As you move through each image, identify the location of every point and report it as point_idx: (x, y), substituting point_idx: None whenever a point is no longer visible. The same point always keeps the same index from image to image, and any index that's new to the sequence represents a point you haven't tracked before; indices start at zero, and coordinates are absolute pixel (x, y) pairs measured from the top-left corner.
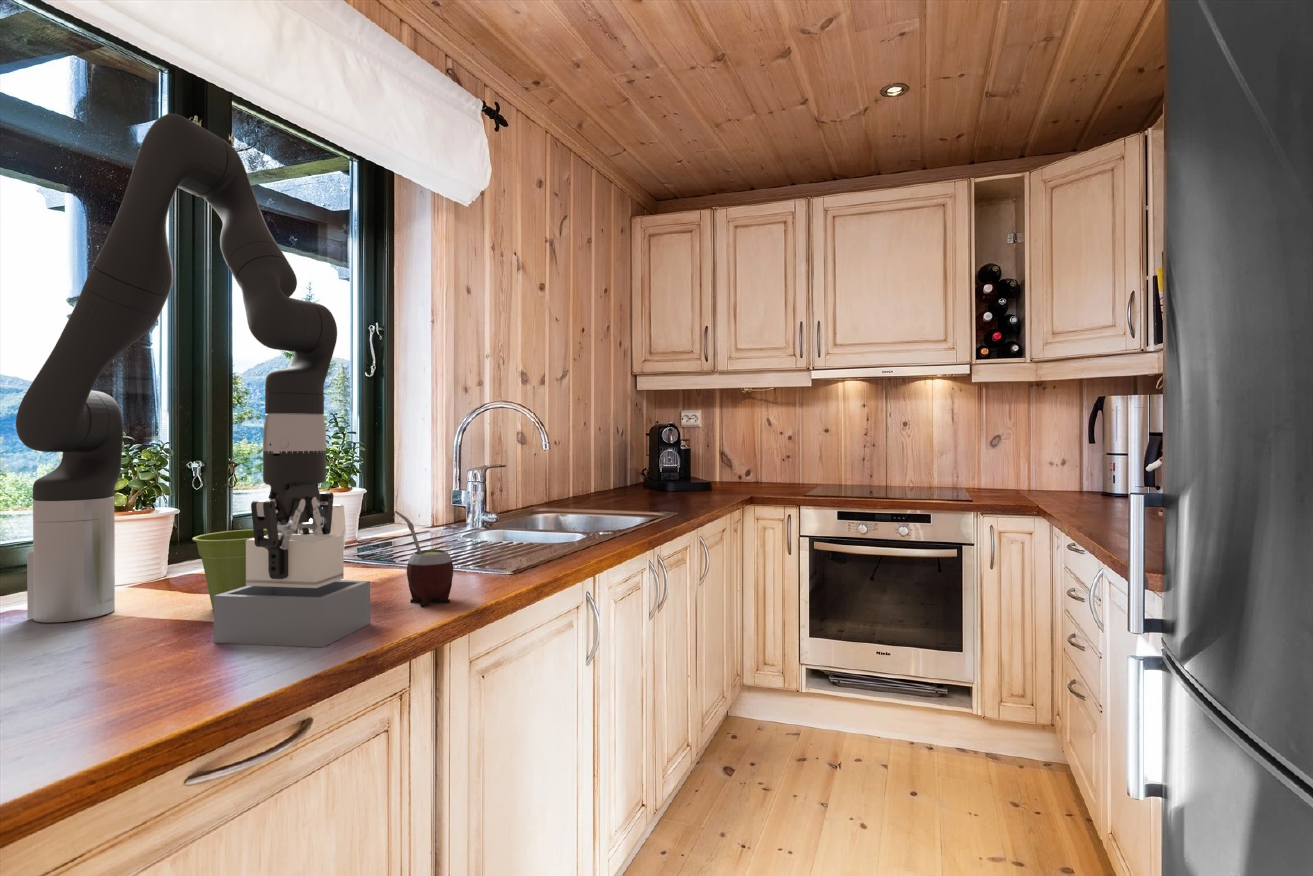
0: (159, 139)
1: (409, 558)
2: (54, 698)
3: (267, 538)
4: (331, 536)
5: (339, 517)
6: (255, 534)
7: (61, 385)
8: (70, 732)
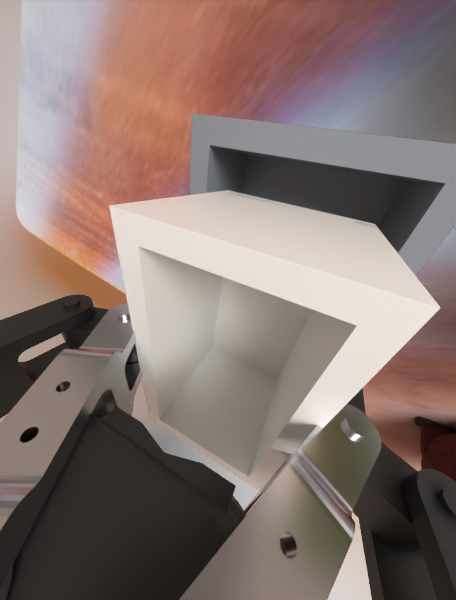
0: None
1: None
2: (48, 83)
3: (65, 340)
4: (253, 469)
5: None
6: (24, 317)
7: None
8: (41, 187)
